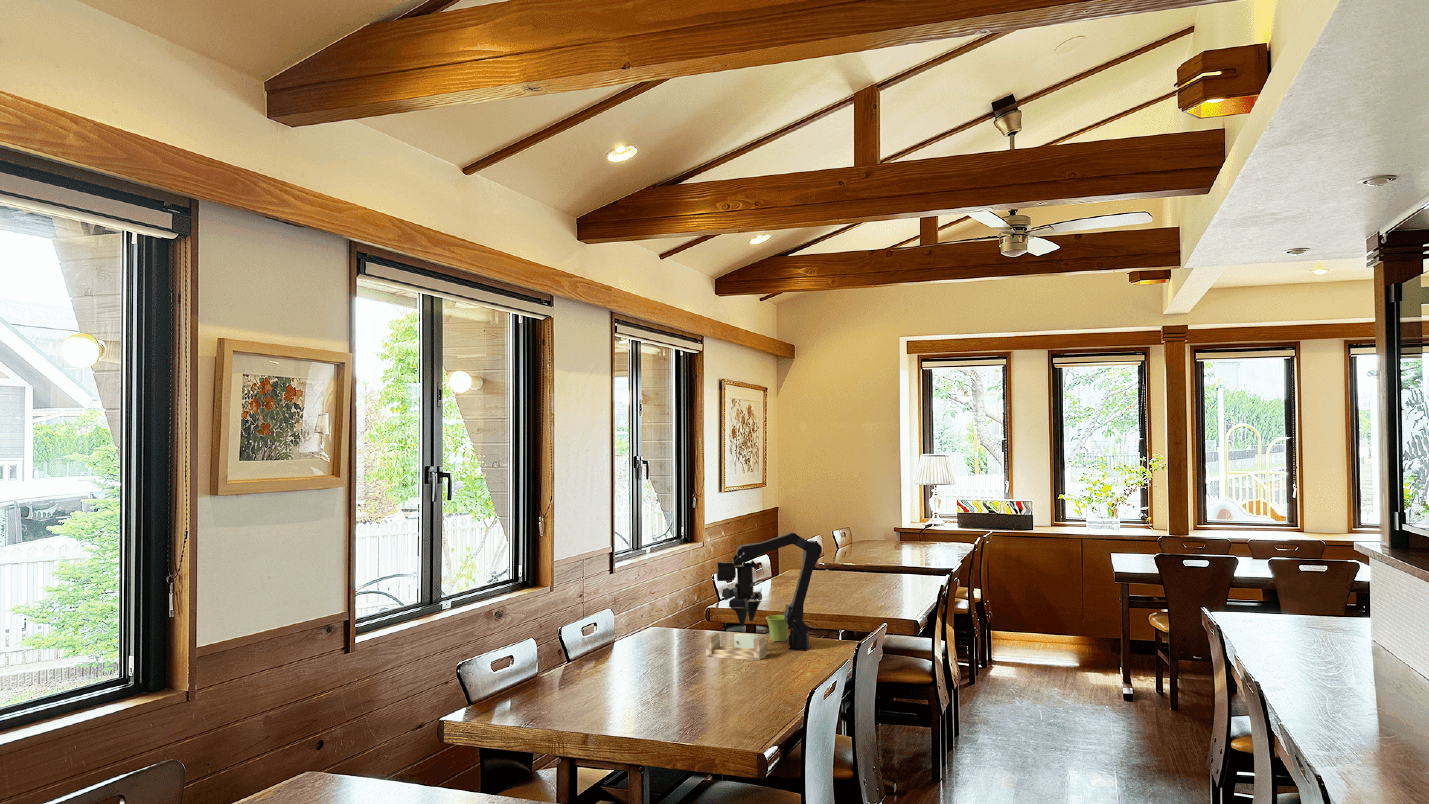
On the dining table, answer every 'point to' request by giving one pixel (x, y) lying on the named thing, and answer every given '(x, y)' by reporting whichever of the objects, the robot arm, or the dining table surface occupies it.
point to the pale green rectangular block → (744, 640)
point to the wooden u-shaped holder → (736, 648)
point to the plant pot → (777, 627)
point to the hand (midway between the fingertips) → (746, 623)
